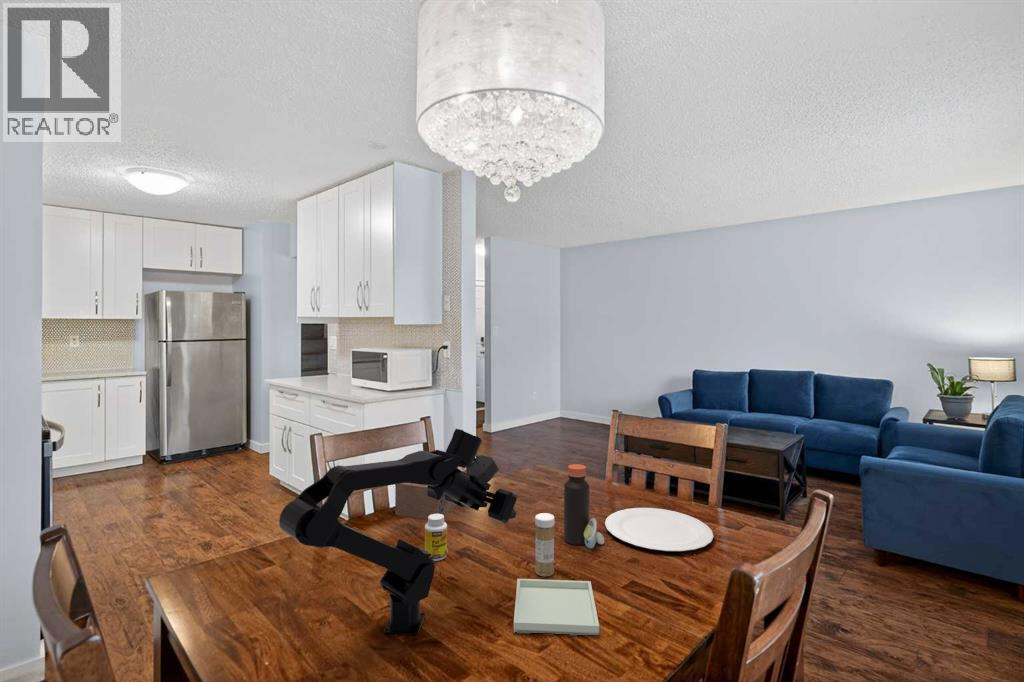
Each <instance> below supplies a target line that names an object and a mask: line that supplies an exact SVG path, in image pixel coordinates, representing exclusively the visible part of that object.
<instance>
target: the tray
mask: <svg viewBox="0 0 1024 682" xmlns="http://www.w3.org/2000/svg"><path fill="white" fill-rule="evenodd" d="M516 580H517V581H516V593H515V602H514V603H515V604H514V614H513V615H514V616H513V634H530V633H555V634H570V635H569V636H577V635H599V636H600V622H599V618H598V613H597V607H596V602H595V597H594V593H593V588H592V581H591V580H590V581H589V580H567V579H566V580H562V579H538V578H535V579H534V578H533V579H532V578H517V579H516ZM515 632H517V633H515ZM574 634H575V635H574Z"/></svg>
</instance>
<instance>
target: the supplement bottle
mask: <svg viewBox="0 0 1024 682" xmlns="http://www.w3.org/2000/svg"><path fill="white" fill-rule="evenodd" d="M424 551H426V552H428V553H430V554H431V556H430V558H431V559H433V560H434V562H438V561H442V560H444V559H445V558H446V557H447V554H448V524H447V522H446V521H445V516H444V515H442V514H431V515H429V516H428V520H427V523H425V525H424Z"/></svg>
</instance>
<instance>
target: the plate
mask: <svg viewBox="0 0 1024 682" xmlns="http://www.w3.org/2000/svg"><path fill="white" fill-rule="evenodd" d="M604 525H605V528H606V530H607V532H608V533H610V534H611V535H612V536H613V537H615V538H617V539H618V540H621V542H624V543H626V544H629V545H631V546H635V547H638V548H643V549H647V550H650V551H651V550H652V551H658V552H666V553H667V552H673V553H675V552H690V551H696V550H699V549H702V548H705V547H707V546H708V545H710V544H711V543H712V542H713V539H714V537H715V536H714V533H713V530H712V529H711V528H710V527H709V526H708V524H706V523H704V522H702V521H701V520H699V519H698V518H696V517H693V516H691V515H688V514H685V513H682V512H678V511H674V510H669V509H666V508H665V509H664V508H655V507H633V508H625V509H621V510H618V511H616V512H613V513H610V514H609V515H608V516H607V518H606V519H605V522H604Z"/></svg>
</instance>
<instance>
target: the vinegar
mask: <svg viewBox="0 0 1024 682" xmlns="http://www.w3.org/2000/svg"><path fill="white" fill-rule="evenodd" d="M567 476H568V480H566V482H565V483H564V488H563V496H564V497H563V540H564V541H565V542H566V543H567V544H570V545H574V546H581V545H586V544H585V541H584V531H585V528H586V526H587V525H588V522H589V520H590V484H589V483H588V482H587V481H586V476H587V467H586V466H585V465H584V464H578V463H575V464H570V465H568V466H567ZM587 543H588V540H587Z"/></svg>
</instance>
